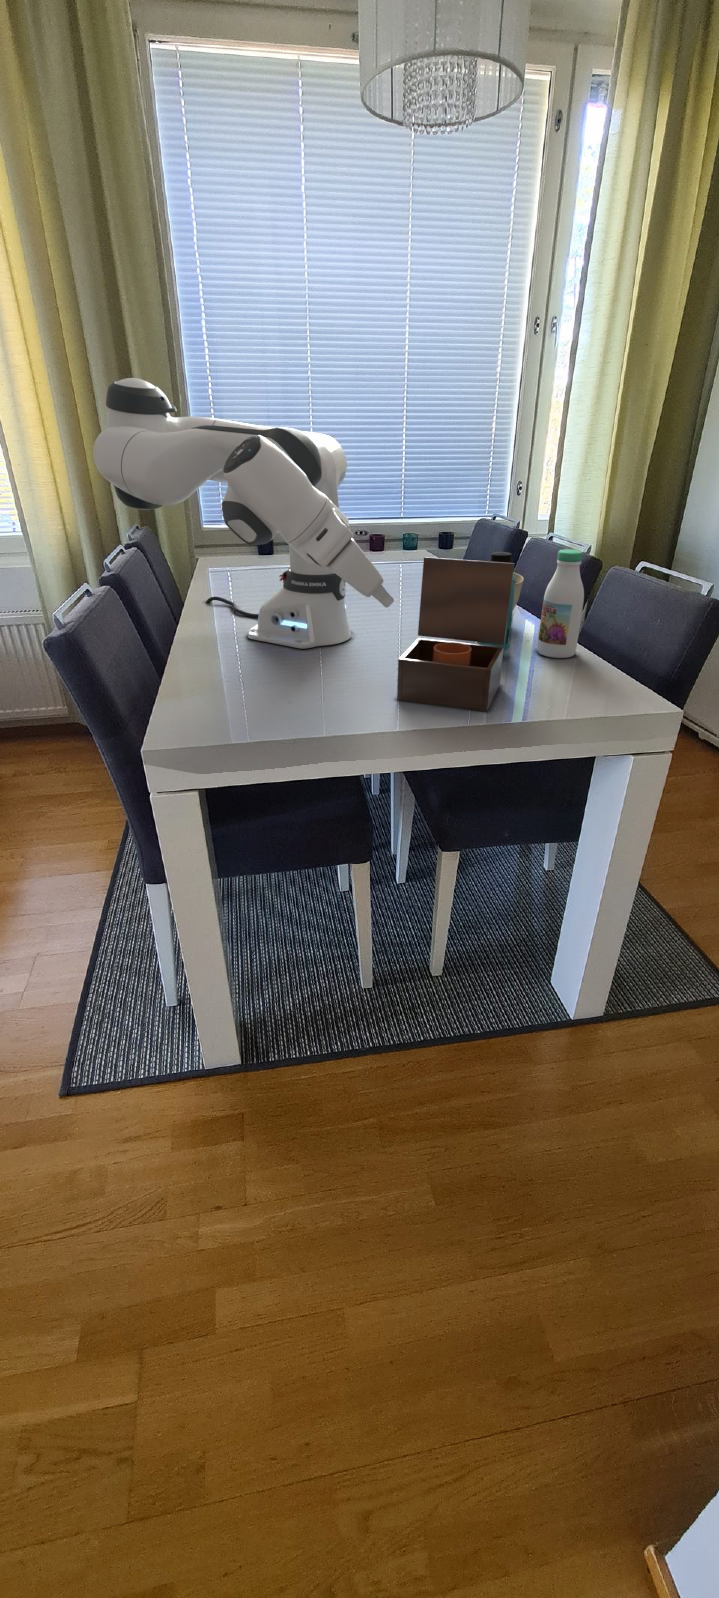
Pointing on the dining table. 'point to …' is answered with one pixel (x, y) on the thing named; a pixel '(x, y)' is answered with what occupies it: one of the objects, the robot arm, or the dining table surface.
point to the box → (449, 676)
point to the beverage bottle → (507, 558)
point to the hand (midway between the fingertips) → (382, 595)
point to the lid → (465, 599)
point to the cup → (452, 653)
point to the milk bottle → (562, 608)
